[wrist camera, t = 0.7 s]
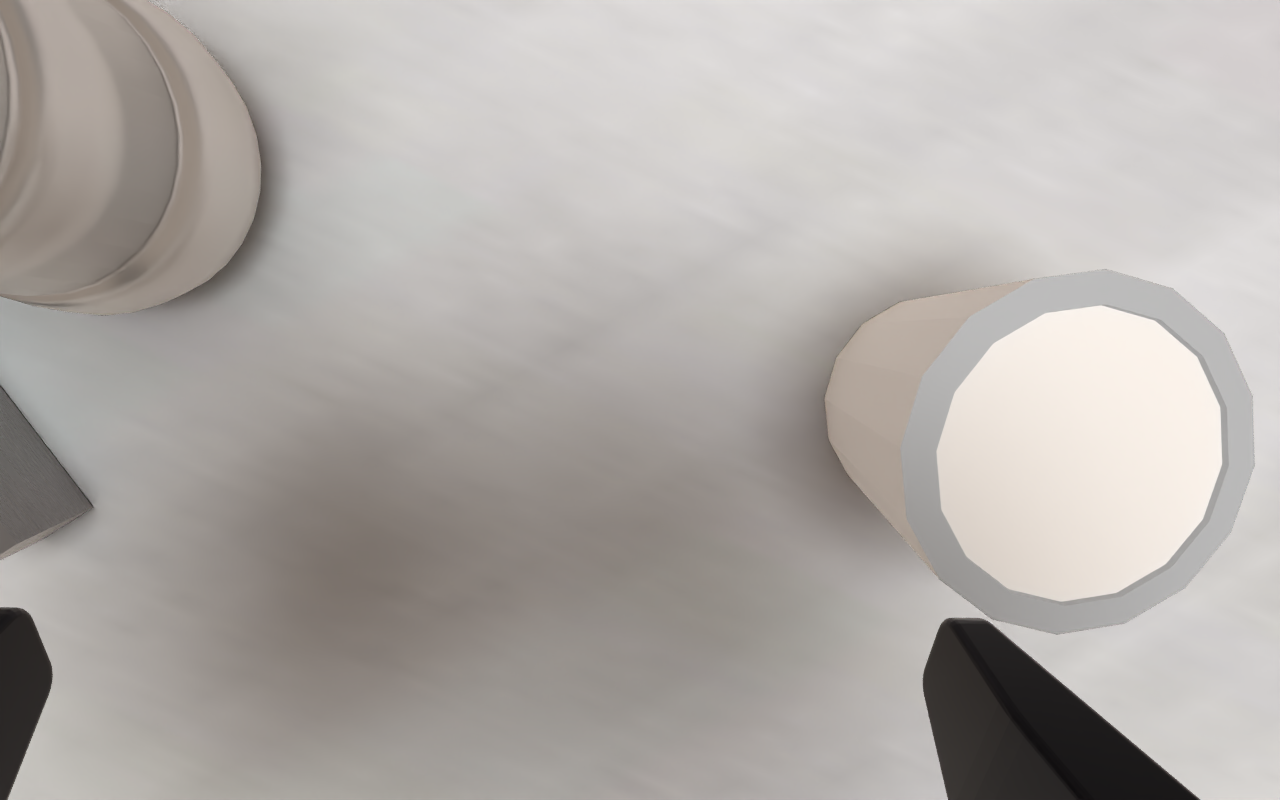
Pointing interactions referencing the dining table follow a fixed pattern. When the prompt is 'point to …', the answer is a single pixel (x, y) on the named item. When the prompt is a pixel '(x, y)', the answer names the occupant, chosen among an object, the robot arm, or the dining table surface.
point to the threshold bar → (31, 485)
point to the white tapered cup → (1049, 442)
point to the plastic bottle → (116, 157)
